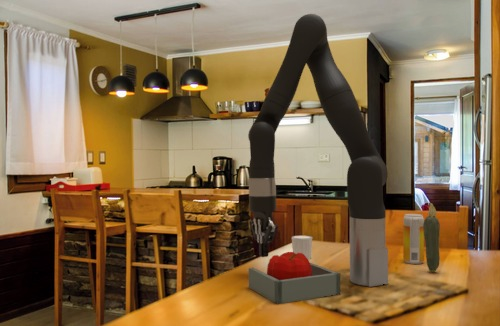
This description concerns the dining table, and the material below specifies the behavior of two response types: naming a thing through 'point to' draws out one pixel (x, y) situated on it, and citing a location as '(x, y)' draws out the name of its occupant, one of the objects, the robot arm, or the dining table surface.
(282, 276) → the tomato
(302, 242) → the white cylindrical piece
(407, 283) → the dining table surface
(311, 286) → the crate
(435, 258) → the vegetable
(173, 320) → the dining table surface
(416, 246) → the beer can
